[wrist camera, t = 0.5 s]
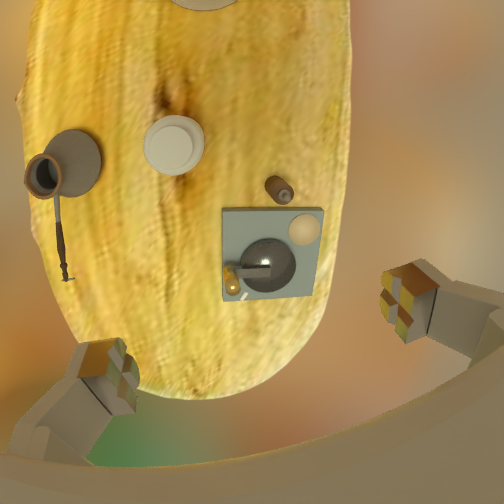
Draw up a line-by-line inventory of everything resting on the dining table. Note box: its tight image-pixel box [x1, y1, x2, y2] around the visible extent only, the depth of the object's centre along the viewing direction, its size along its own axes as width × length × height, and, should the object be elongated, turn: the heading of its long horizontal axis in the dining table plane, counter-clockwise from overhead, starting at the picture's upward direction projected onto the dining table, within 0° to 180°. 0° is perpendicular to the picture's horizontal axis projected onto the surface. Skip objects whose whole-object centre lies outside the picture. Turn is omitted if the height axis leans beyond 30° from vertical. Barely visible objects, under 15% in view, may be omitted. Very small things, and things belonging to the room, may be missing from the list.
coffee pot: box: [24, 130, 101, 282], centre depth 38 cm, size 21×12×15 cm, turn 4°
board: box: [222, 207, 324, 302], centre depth 55 cm, size 18×18×2 cm
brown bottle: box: [265, 176, 294, 205], centre depth 47 cm, size 3×3×9 cm
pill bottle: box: [143, 115, 204, 175], centre depth 38 cm, size 8×8×15 cm
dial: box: [223, 239, 296, 296], centre depth 51 cm, size 10×13×8 cm
